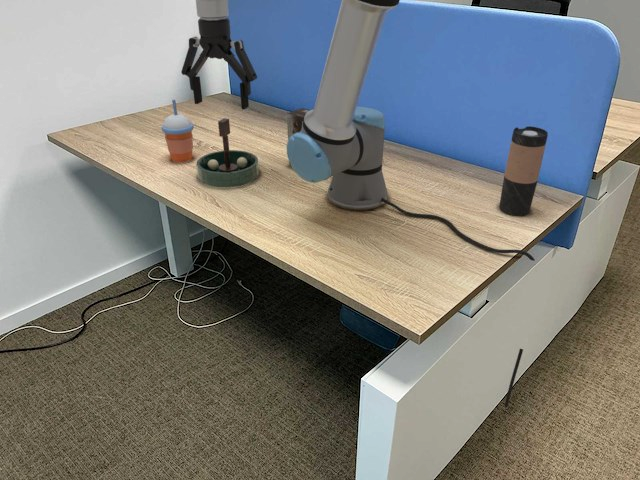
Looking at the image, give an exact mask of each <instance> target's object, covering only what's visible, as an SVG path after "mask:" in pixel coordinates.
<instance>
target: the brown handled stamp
mask: <svg viewBox="0 0 640 480" xmlns="http://www.w3.org/2000/svg"><path fill="white" fill-rule="evenodd" d="M230 124H231V123H230V118H225V117H224V118H222V119H220V120H219V121H217V126H218V135H219V137H221V138H222V145H223V147H222V148H223V151H224V158H225V164H222V165H220V166H219V172H234V171H238V166H237V165H236V164H232V163H230V152H229V150H230V142H229V135H230V134H231V125H230Z"/></svg>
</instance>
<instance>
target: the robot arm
mask: <svg viewBox="0 0 640 480" xmlns="http://www.w3.org/2000/svg"><path fill="white" fill-rule="evenodd" d="M400 1H401V0H341V2H340V7H339V10H338V14H337V17H336V22H335V25H334V28H333V29H334V30H333V34H332V36H331V42H330V44H329V49H328V53H327V57H326V60H325V64H324V68H323V72H322V76H321V79H320V84H319V87H318V91H317V96H316V98H315V99H316V100H315V103H314V107H313V108H312V109H309V110H310V111H308V112H307V113H306V115H305V117H304V121H303V125H302V129H301V131H300V132H299V133H295V134H293V136H291V137H290V138H289V140H288V139H287V141H286V142H287V143H286V156H287V159H288V163H289V162H290V163H291V165H290V166H291V168H292V170H293V171H294V172H295V173H296V175H298V177H300V178H301V180H304V181H306V182H308V183H311V184H312V183H313V184H316V183H319V182H322V181H327V180H329V179H330V178H331V180H330V183H329V186H328V190H327V199H328V201H329V203H331V204H333V206H335V207H338V208H341V209H344V210H347V211H348V210H350V211H358V212H359V211H370V210H375V209H378V208H380V207H382V206H384V205H385V204H386V205H388V206H390V207H392V208H394V209H395V210H397V211H398V212H400V213H402V214H404V215H407V216H411V217H416V218H429V219H435V220H439V221H442V222H443V223H445V224H447V225H448V227H450V228H451V230H452V231H454V233H456V234H457V235H458V236H459V237H461V238H463V239H464V240H465V241H467V242H469V243H471V244H472V245H475V246H477V247H478V248H481V249H483V250H487V251H489V252H492V253H495V254H521V255H523V256H524V257H525V256H526V257H527V258H528V259H529V260H530V261H532V262H534V261H536V259H535V258H534V257H533V256H532V255H531V254H530V253H529V252H528V251H525V250H522V249H501V248H494V247H491V246H488V245H486V244H482V243H481V242H478V241H477V240H475V239H473V238H471V237H469V236H468V235H466V234H464V233H463V232H461V231H460V230H458V228H457V227H456V225H454V224H453V223H452V222H451V221H450V220H448V219H446V218H444V217H443V216H439V215H435V214H427V213H415V212H410V211H407V210H405V209H403V208H401V207H399V206H398V205H396V204H394V202H391V201H389V200H388V188H387V185H386V181H385V175H384V173H383V159H384V147H385V146H384V145H385V130H386V118H385V115H384V113H382V112H381V111H380V110H377V109H375V108H371V107H364V106H358V105H359V101H360V98H361V94H362V92H363V89H364V86H365V82H366V79H367V75H368V73H369V70H370V67H371V63H372V61H373V58H374V54H375V51H376V48H377V45H378V42H379V38H380V35H381V33H382V30H383V26H384V24H385V20H386V17H387V14H388V12H389V11H391V10H393V9H395V8H397V7H398V6H399V4H400ZM195 7H196V8H195V9H196V17H198V20H197V26H198V34H199V36H200V38H199V37H198V36H192V37H190V38H189V39H188V49H187V52H186V55H185V58H184V62H183V65H182V68H181V71H180V72H181V75H182V76H187V77H188V81H189V88H190V91H192V92H193V101H194V104H195V105H198V104H200V103H203V95H202V94H203V93H202V86H201V85H202V84H201V76H198V75H199V73H200V71H201V70H202V68H203V67H204V65H205V63H206V62H207V60H208V59H217V60H222V59H223V60H224V61H225V62H226V63H227V64H228V65H229V66H230V67H231V69H232V70H233V72H234V73H235V74H236V75H237V77H238V78H239V80H240V81H241V82H240V83H239V92H240V107H241V110H246V109H247V108H249V107H250V104H249V96H250V95H251V94H252V89H251V88H252V87H251V83H252V82H253V81H256V80H257V79H258V75H257V73H256V71H255V69H254V67H253V64H252V63H251V60H250V58H249V56H248V54H247V52H246V49H245V46H244V41H243V40H242V39H239V40H232V39H231V22H230V19H229V18H228V17H229V16H230V11H229V0H195ZM199 47H201V49H202V51H201V52H200V54H199V56H198V58H197V60H196V61H195V58H196V55H197V52H198V49H199ZM232 49H233V51H234V52H235V54H236V56H237V58H238V59H237V58H236V56H235V54H234V53H233V51H232ZM238 60H239V61H238ZM194 62H195V63H194ZM523 352H524V349H523V348H519V350H518V354H517V358H516V361H515V364H514V368H513V372H512V375H511V378H510V381H509V386H508V389H507V393H506V398H505V402H504V408H508V407H509V403H510V398H511V394H512V390H513V387H514V383H515V380H516V376H517V373H518V369H519V366H520V363H521V359H522V355H523Z"/></svg>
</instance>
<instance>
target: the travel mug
mask: <svg viewBox="0 0 640 480" xmlns="http://www.w3.org/2000/svg"><path fill="white" fill-rule="evenodd" d="M548 135H549V133H548V131H547V130H546V129H543V128H541V127H537V126H531V125H530V126H526V127H523V128H519V127H515V128H513V130H512V135H511V140H510V145H509V149H508V155H507V160H506V164H505V169H504V175H503V181H502V186H501V187H502V188H501V193H500V199H499V210H500V211H501V212H503V213H504V214H506V215H509V216H515V217H523V216H526V215H528V214H529V212H530V211H531V207H532V203H533V199H534V197H535V192H536V190H537V189H536V188H537V185H538V182H539V181H538V180H539V178H540V177H539V176H540V172H541V167H542V163H543V159H544V154H545V149H546V146H547V140H548Z"/></svg>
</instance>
